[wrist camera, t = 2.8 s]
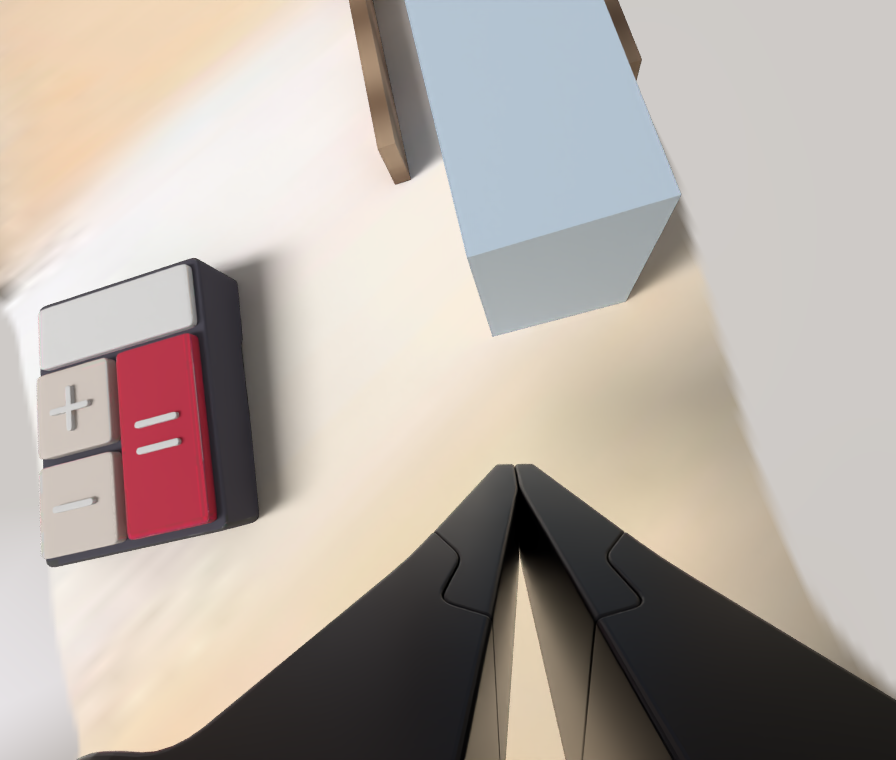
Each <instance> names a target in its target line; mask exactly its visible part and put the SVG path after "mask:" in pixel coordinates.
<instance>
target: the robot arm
mask: <svg viewBox="0 0 896 760" xmlns="http://www.w3.org/2000/svg"><path fill="white" fill-rule="evenodd" d="M519 552H520V559H521V565H522V570H523V574H524V578H525V583H526V587H527V592H528V596H529V600H530V605H531V609H532V614H533V618H534V622H535V627H536V631H537V636H538V640H539V644H540V649H541V653H542V658H543V662H544V666H545V671H546V675H547V680H548V684H549V688H550V693H551V697H552V702H553V706H554V710H555V715H556V719H557V724H558V728H559V732H560V737H561V741H562V746H563V750H564V754H565V759H566V760H896V700H895V699H893V698H892V697H890V696H888V695H887V694H885V693H883V692H882V691H880V690H878V689H877V688H875V687H873V686H872V685H870V684H868V683H867V682H865V681H863V680H862V679H860V678H859V677H857V676H855V675H854V674H852V673H850V672H849V671H847V670H845V669H844V668H842V667H840V666H839V665H837V664H835V663H834V662H832V661H830V660H829V659H827V658H826V657H824V656H822V655H821V654H819V653H817V652H816V651H814V650H812V649H811V648H809V647H807V646H806V645H804V644H802V643H801V642H799V641H797V640H796V639H794V638H793V637H791V636H789V635H788V634H786V633H784V632H783V631H781V630H779V629H778V628H776V627H774V626H773V625H771V624H769V623H768V622H766V621H764V620H763V619H761V618H760V617H758V616H756V615H755V614H753V613H751V612H750V611H748V610H746V609H745V608H743V607H741V606H740V605H738V604H736V603H735V602H733V601H731V600H730V599H728V598H727V597H725V596H723V595H722V594H720V593H718V592H717V591H715V590H713V589H712V588H710V587H708V586H707V585H705V584H703V583H702V582H700V581H698V580H697V579H695V578H694V577H692V576H690V575H689V574H687V573H685V572H684V571H682V570H681V569H679V568H678V567H676V566H674V565H673V564H671V563H670V562H668V561H667V560H665V559H663V558H662V557H660V556H659V555H658V554H656V553H655V552H653V551H652V550H650V549H649V548H647V547H646V546H645V545H643V544H642V543H640V542H639V541H638V540H636V539H635V538H633V537H632V536H631V535H629V534H628V533H624V531H623V530H622V529H620V528H619V527H617V526H616V525H615V524H613V523H612V522H611V521H609V520H608V519H607V518H605V517H604V516H603V515H601V514H600V513H598V512H597V511H596V510H594V509H593V508H592V507H590V506H589V505H588V504H586V503H585V502H584V501H582V500H581V499H580V498H578V497H577V496H575V495H574V494H573V493H571V492H570V491H569V490H567V489H566V488H565V487H563V486H562V485H561V484H559V483H558V482H556V481H555V480H554V479H552V478H551V477H550V476H548V475H547V474H546V473H544V472H543V471H542V470H540V469H539V468H538V467H536V466H535V465H533V464H517V465H516V466H515V467H514V465H512V464H500V465H496V466H495V467H494V468H493V469H492V470H491V471H490V472H489V473H488V474H487V476H486V477H485V478H484V479H483V480H482V481H481V482H480V483H479V484H478V485H477V486H476V487H475V488H474V490H473V491H472V492H471V493H470V494H469V495H468V496H467V497H466V498H465V499H464V500H463V501H462V502H461V504H460V505H459V506H458V507H457V508H456V509H455V510H454V511H453V512H452V513H451V514H450V515H449V516H448V518H447V519H446V520H445V521H444V522H443V523H442V524H441V525H440V526H439V527H438V528H437V529H436V530H435V532H434V533H432V534H431V535H430V536H429V537H428V538H427V539H426V540H425V541H424V542H423V543H422V544H421V545H420V546H419V547H418V548H417V549H416V550H415V551H414V552H413V553H412V554H411V555H410V556H409V557H408V558H407V559H406V560H405V561H404V562H403V563H401V564H400V565H399V566H398V567H397V568H396V569H395V570H393V571H392V572H391V573H390V574H389V575H388V576H386V577H385V578H384V579H383V580H381V581H380V582H379V583H378V584H377V585H375V586H374V587H373V588H372V589H371V590H369V591H368V592H367V593H366V594H364V595H363V596H362V597H361V598H360V599H358V600H357V601H356V602H355V603H354V604H352V605H351V606H350V607H349V608H348V609H346V610H345V611H344V612H343V613H341V614H340V615H339V616H338V617H337V618H335V619H334V620H333V621H332V622H331V623H329V624H328V625H327V626H326V627H325V628H323V629H322V630H321V631H320V632H318V633H317V634H316V635H315V636H314V637H312V638H311V639H310V640H309V641H308V642H306V643H305V644H304V645H303V646H301V647H300V648H299V649H298V650H297V651H295V652H294V653H293V654H292V655H291V656H289V657H288V658H287V659H286V660H285V661H283V662H282V663H281V664H280V665H278V666H277V667H276V668H275V669H274V670H272V671H271V672H270V673H269V674H268V675H266V676H265V677H264V678H263V679H261V680H260V681H259V682H258V683H257V684H255V685H254V686H253V687H252V688H251V689H249V690H248V691H247V692H246V693H245V694H243V695H242V696H241V697H240V698H238V699H237V700H236V701H235V702H234V703H232V704H231V705H230V706H229V707H228V708H226V709H225V710H224V711H223V712H221V713H220V714H219V715H218V716H217V717H215V718H214V719H213V720H212V721H211V722H209V723H208V724H207V725H206V726H205V727H203V728H202V729H200V730H199V731H198V732H196V733H195V734H193V735H192V736H191V737H189V738H187V739H185V740H183V741H181V742H180V743H178V744H176V745H174V746H171V747H168V748H165V749H162V750H159V751H154V752H128V751H103V752H96V753H91V754H88V755H85V756H83V757H81V758H78V759H77V760H506V746H507V732H508V718H509V703H510V689H511V675H512V660H513V646H514V632H515V617H516V603H517V589H518V574H519Z"/></svg>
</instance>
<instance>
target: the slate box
mask: <svg viewBox="0 0 896 760" xmlns="http://www.w3.org/2000/svg"><path fill="white" fill-rule="evenodd" d="M405 4H406V8H407V13H408V17H409V21H410V25H411V29H412V33H413V37H414V41H415V45H416V50H417V54H418V58H419V62H420V66H421V70H422V74H423V78H424V82H425V87H426V91H427V95H428V99H429V103H430V107H431V111H432V115H433V119H434V124H435V128H436V132H437V136H438V140H439V144H440V148H441V152H442V156H443V161H444V165H445V169H446V173H447V177H448V181H449V185H450V189H451V193H452V198H453V202H454V206H455V210H456V214H457V218H458V222H459V226H460V230H461V235H462V239H463V243H464V247H465V251H466V255H467V259H468V262H469V265H470V268H471V271H472V274H473V277H474V281H475V284H476V287H477V290H478V293H479V296H480V299H481V302H482V305H483V308H484V311H485V314H486V318H487V321H488V324H489V327H490V330H491V333H492V336H493V337H494V336H497V335H501V334H505V333H509V332H512V331H516V330H520V329H524V328H528V327H531V326H535V325H539V324H543V323H546V322H550V321H554V320H558V319H562V318H565V317H569V316H573V315H577V314H581V313H584V312H588V311H592V310H596V309H599V308H603V307H607V306H611V305H615V304H618V303H622V302H626V300H627V298H628V296H629V294H630V292H631V290H632V288H633V286H634V284H635V283H636V281H637V279H638V277H639V275H640V273H641V271H642V269H643V267H644V265H645V263H646V262H647V260H648V258H649V256H650V254H651V252H652V250H653V248H654V246H655V244H656V242H657V240H658V239H659V237H660V235H661V233H662V231H663V229H664V227H665V225H666V223H667V221H668V219H669V217H670V216H671V214H672V212H673V210H674V208H675V206H676V204H677V202H678V200H679V198H680V196H681V192H680V190H679V187H678V185H677V182H676V180H675V177H674V175H673V172H672V170H671V167H670V165H669V162H668V160H667V157H666V155H665V152H664V150H663V147H662V145H661V142H660V140H659V137H658V135H657V132H656V130H655V127H654V125H653V122H652V120H651V117H650V115H649V112H648V110H647V107H646V105H645V102H644V100H643V97H642V95H641V92H640V90H639V87H638V85H637V82H636V80H635V77H634V75H633V72H632V70H631V67H630V64H629V62H628V59H627V57H626V54H625V52H624V49H623V47H622V44H621V42H620V39H619V37H618V34H617V32H616V29H615V27H614V24H613V22H612V19H611V17H610V14H609V12H608V9H607V7H606V4H605V2H604V0H405Z"/></svg>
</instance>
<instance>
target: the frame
mask: <svg viewBox="0 0 896 760" xmlns="http://www.w3.org/2000/svg"><path fill="white" fill-rule="evenodd" d="M604 2H605V4H606V7H607V9H608V12H609V14H610V17H611V19H612V22H613V24H614V27H615V29H616V32H617V34H618V37H619V39H620V42H621V44H622V47H623V49H624V52H625V54H626V57H627V59H628V62H629V64H630V67H631V70H632V72H633V75H634V77H635V80H637V76H638V72H639V68H640V64H641V61H642V59H641V56H640V54H639V51H638V49H637V46H636V44H635V41H634V39H633V36H632V34H631V31H630V29H629V26H628V24H627V21H626V19H625V16H624V14H623V11H622V9H621V7H620V4H619V2H618V0H604ZM349 3H350V9H351V14H352V19H353V24H354V29H355V34H356V40H357V45H358V50H359V55H360V60H361V65H362V70H363V76H364V81H365V86H366V91H367V96H368V101H369V107H370V112H371V117H372V122H373V127H374V132H375V137H376V143H377V148H378V151H379V153H380V155H381V157H382V159H383V161H384V163H385V165H386V167H387V169H388V171H389V173H390V175H391V177H392V179H393V181H394V183H395V184H398V183H401V182H404V181H408V180H411V179H410V174H409V169H408V164H407V160H406V155H405V150H404V146H403V141H402V136H401V131H400V127H399V122H398V117H397V113H396V108H395V103H394V99H393V94H392V89H391V84H390V80H389V75H388V70H387V66H386V61H385V56H384V51H383V47H382V42H381V37H380V33H379V28H378V23H377V19H376V14H375V9H374V4H373V0H349Z"/></svg>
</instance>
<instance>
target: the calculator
mask: <svg viewBox="0 0 896 760" xmlns="http://www.w3.org/2000/svg"><path fill="white" fill-rule="evenodd" d="M38 325H39V360H40V368H41V377H39V378H38V380H37V418H38V453H39V458H40V459H43V469H42V470H41V471H40V473H39V492H40V526H41V527H40V529H41V555H42V558H44V559H46V561H47V564H48V565H49V566H50V567H58V566H63V565H68V564H72V563H77V562H81V561H86V560H91V559H95V558H100V557H104V556H109V555H113V554H118V553H123V552H127V551H132V550H136V549H141V548H145V547H150V546H155V545H159V544H164V543H168V542H173V541H178V540H182V539H187V538H191V537H196V536H200V535H205V534H210V533H214V532H219V531H223V530H227V529H231V528H235V527H238V526H242V525H246V524H250V523H253V522H255V521H256V520H257V518H258V515H259V508H258V498H257V487H256V476H255V466H254V455H253V445H252V434H251V424H250V415H249V407H248V399H247V391H246V383H245V375H244V368H243V360H242V351H241V343H242V340H243V338H242V326H241V316H240V305H239V294H238V285H237V282H236V281H235V280H234V279H232V278H230V277H228V276H227V275H225V274H223V273H221V272H220V271H218V270H216V269H214V268H213V267H211V266H209V265H207V264H206V263H204V262H202V261H200V260H198V259H196V258H191V259H188V260H185V261H182V262H179V263H176V264H173V265H169V266H166V267H163V268H160V269H157V270H154V271H151V272H148V273H145V274H142V275H139V276H136V277H133V278H130V279H127V280H124V281H121V282H118V283H114V284H111V285H108V286H105V287H102V288H99V289H96V290H93V291H90V292H87V293H84V294H81V295H78V296H75V297H72V298H69V299H66V300H63V301H59V302H56V303H53V304H50V305H47V306H45V307H43V308H42V309H41V310H40V312H39V315H38Z"/></svg>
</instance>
